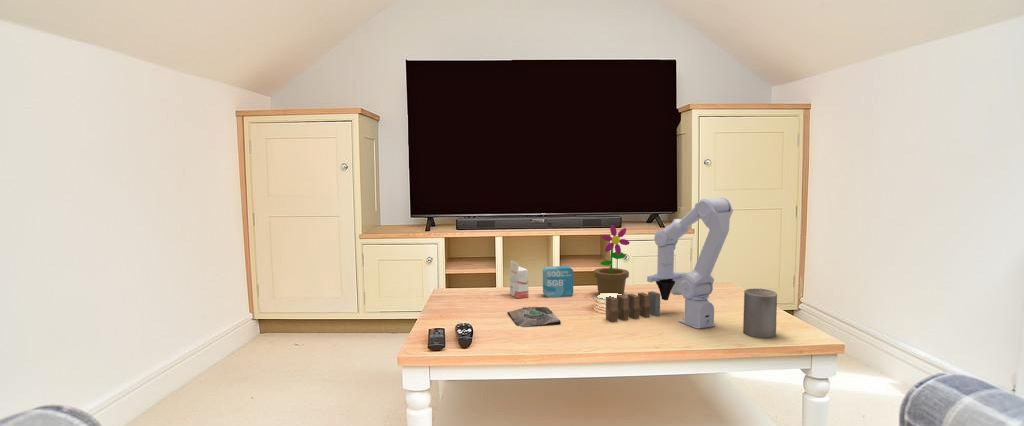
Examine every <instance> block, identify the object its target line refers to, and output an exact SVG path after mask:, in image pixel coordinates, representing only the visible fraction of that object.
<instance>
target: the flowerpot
mask: <svg viewBox="0 0 1024 426" xmlns="http://www.w3.org/2000/svg"><path fill="white" fill-rule="evenodd" d="M609 230H610V234H611V235H607V234H604V235H601V239H602V240H603V241H605V242H609V243H607V245H606V246H605V249H604V252H605V253H608V252H610V255H609V259H610V260H607V259H606V260H602V261H601V262H600V265H602V266H609V267H603V268H596V269H594V270H593V276H594V278H596V286H597V293H598V294H600V293H618V294H622V295H624V296H625V287H626V282H627V279H628V278H630V277H629V276H630V272H629V271H628V270H627V269H623V268H619V267H617V268H616V267H615V268H614V267H613V259H615V260H622V259H624V258H626V257H627V255H626V254H625V253H624V252H623V251H622V248H621V245H622V246H628V245H630V243H631V242H630V241H629V240H628V239H626V238H625V239H624V238H623V237H624V236H625V234H626V233H627V228H626V227H624V228H622V229H620V230H619V231H618V230H617V228H616V227H615V225H614V224H612V225H610V228H609ZM617 231H618V232H617ZM617 233H618V234H617ZM612 236H613V237H612ZM619 243H620V244H619ZM614 251H615V252H614Z"/></svg>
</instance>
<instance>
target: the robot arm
mask: <svg viewBox="0 0 1024 426" xmlns="http://www.w3.org/2000/svg"><path fill="white" fill-rule="evenodd" d="M733 212H734V209H733V207H732V205H731V202H730V200H729V199H728V198H725V197H720V198H709V199H708V198H702V199H699V201H698V202H695V204H694V207H693V208H692V209H691V210H689V212H687V214H686V215H684V216H683V218H673V220H672V222H671V223H670V224H669V225H665V227H664V229H663V230H660V229H659V230H657V231H656V233H655V234H654V242H655V244H656V246H657V266H656V267H657V270H656V271H657V273H656V274H653V275H652V274H651V275H647V277H646V278H647V280H646V281H647V282H648V283H653V282H655V284H656V285H657V287H658V290H659V294H660V299H661V300H663V301H669V297H670V294H671V293H672V291H671V290H672V288H673V286H674V284H675V281H673V279H683V274H682V273H674V272H675V271H674V270H675V269H674V268H675V267H674V266H675V265H674V264H675V250H676V245H677V244H678V241H679V240H680V238H682V236H684V235H686V234H687V233H688V232H689V227H691V226H692V225H693V224H695V223H696V222H698V221H699V220H701V221H702V223H703V224H704V225H705V227H706V228H708V230H709V231H708V233H707V236H706V238H705V241H704V243H703V246H702V249H701V250H700V253H699V256H698V258H697V261H696V263H695V266H694V268H693V270H691V271H689V272H690V273H689V274H688V275H687V276H686V278H685V279H684V280H683V281H682V282H681V284H680V291H681V293H682V294H681V295H682V297H683V298H684V319H679V320H678V322H680V323H682V324H684V325H686V326H689V327H692V328H695V329H697V330H698V329H704V328H711V327H716V325H717V324H715V307H714V304H713V303H712V302H710V301H709V298H710V296H711V294H712V292H713V289H714V285H713V284H714V281H715V278H714V277H713V276H712V275H711V274H712V272H713V270H714V268H715V266H716V263H717V261H718V258H719V255H720V254H721V251H722V248H723V246H724V244H725V242H726V239H727V237H728V234H729V231H730V222H731V221H730V220H731V216H732V214H733Z"/></svg>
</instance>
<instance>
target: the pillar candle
mask: <svg viewBox="0 0 1024 426" xmlns="http://www.w3.org/2000/svg"><path fill="white" fill-rule="evenodd" d="M777 306H778V293H777V292H776V291H774V290H770V289H765V288H747V289H745V290H744V296H743V321H742V323H743V325H742V326H743V327H742V331H743V332H742V333H743V334H744V335H746V336H749V337H753V338H758V339H767V338H769V339H770V338H772V339H773V338H775V337H776V336H777V308H778V307H777Z"/></svg>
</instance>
